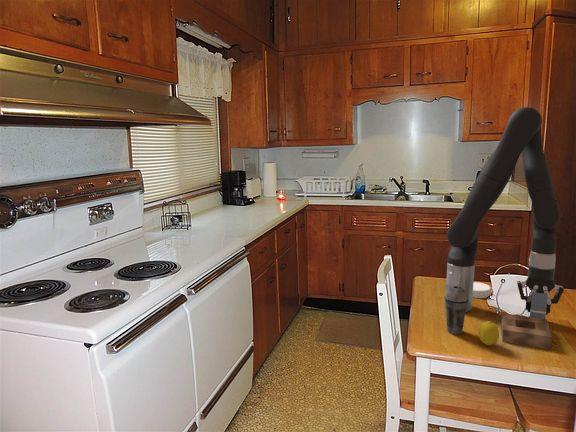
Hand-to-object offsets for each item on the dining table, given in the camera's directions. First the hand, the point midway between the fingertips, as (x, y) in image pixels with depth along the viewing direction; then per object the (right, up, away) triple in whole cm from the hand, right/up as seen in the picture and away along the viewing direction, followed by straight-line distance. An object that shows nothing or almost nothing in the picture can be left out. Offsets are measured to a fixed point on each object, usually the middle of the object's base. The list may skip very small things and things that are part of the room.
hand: (537, 312), depth 144 cm
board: (-9, -5, -9) cm, 14 cm away
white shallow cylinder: (-9, +1, +26) cm, 28 cm away
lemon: (-24, -7, -14) cm, 29 cm away
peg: (0, -3, +1) cm, 3 cm away
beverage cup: (-30, -5, -5) cm, 31 cm away
